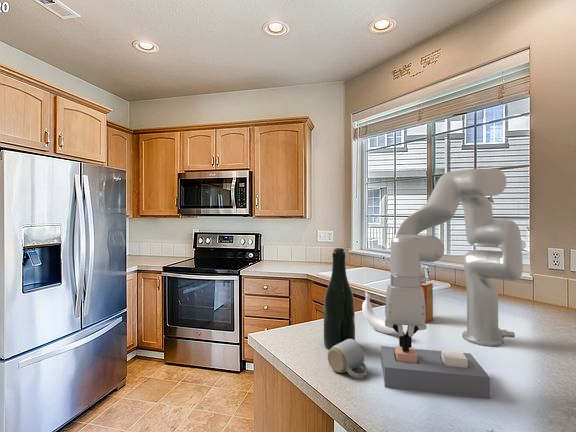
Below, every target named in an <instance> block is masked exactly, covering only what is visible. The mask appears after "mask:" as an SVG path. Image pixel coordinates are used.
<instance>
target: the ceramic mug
mask: <svg viewBox="0 0 576 432" xmlns="http://www.w3.org/2000/svg"><path fill="white" fill-rule="evenodd" d="M327 361H328V364H329V366H330V368H331V369H332V370H333V371H334V372H336V373H338V374H344V373H348V375H350V376H351V377H352V378H355V379H363V378H366V376H367V373H368V368H367V365H366V363H365V362H364V361H365V353H364V350H363V348H362V347H361V345H360V344H359V342H358V341H357V340H356V339H355V340H353V339H347V340H345V341H343V342H341V343H339V344H337V345H335V346H333V347H332V348H331V349H328V352H327ZM359 367H361V368H362V369H363V373H357V372H355V371H354V369H356V368H359Z"/></svg>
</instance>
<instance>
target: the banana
mask: <svg viewBox="0 0 576 432" xmlns="http://www.w3.org/2000/svg"><path fill="white" fill-rule="evenodd" d="M364 294H365V300H364V301H363V302H362V305H361V306H362V309H361V310H362V313H363V316H364V318H365V320H366V322H367V323H368V324H369V325H370V327H372V328H373V329H374V330H375V331H378V332H380V333H382V334H387V335H389V334H390V335H391V334H398V333H397V332H396V331H395V330H394V329H393V328H389V327H386V326H385V320H382V319H381V318H379V317H378V316H377V315H376V313H375V312H374V309H373V306H372V303H371V301H370V298H371V295H370V294H369V293H368V291H365V293H364ZM403 326H404V325H402V327H403ZM403 328H404V327H403Z"/></svg>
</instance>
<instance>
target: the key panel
mask: <svg viewBox="0 0 576 432" xmlns="http://www.w3.org/2000/svg"><path fill="white" fill-rule="evenodd" d="M380 349H381V350H380V353H381V356H380V357H381V358H380V359H381V370H382V376H383V383H384V384H383V385H384V388H390V389H391V388H392V389H399V390H409V391H418V392H429V393H436V394H447V395H454V396H455V395H457V396H465V397H475V398H484V399H491V377H490V376H489V374H488V373H487V371H485V369H484V368H483V367H482V366H481V365H480V363H479V362H478V361H477V360H476V358H475V357H474V356H473V354H471V353H470V352H469V353H468V352H462V353H463V354H464V355H465V357H466V358H467V359H468V368H462V367H451V366H445V365H444V363H443V362H442V358H441V350H434V349H421V348H414V349H415V351H416V353H417V363H407V362H396V360H395V346H385V345H381V348H380Z"/></svg>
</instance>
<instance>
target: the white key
mask: <svg viewBox="0 0 576 432" xmlns="http://www.w3.org/2000/svg"><path fill="white" fill-rule="evenodd" d="M440 351H441V358H442V362H443V363H444V365H445V366H451V367H462V368H468V359H467V358H466V357H465V355H464V354H463V353H464V352H463V351H460V350H459V351H458V350H448V349H447V350H446V349H441V350H440Z"/></svg>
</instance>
